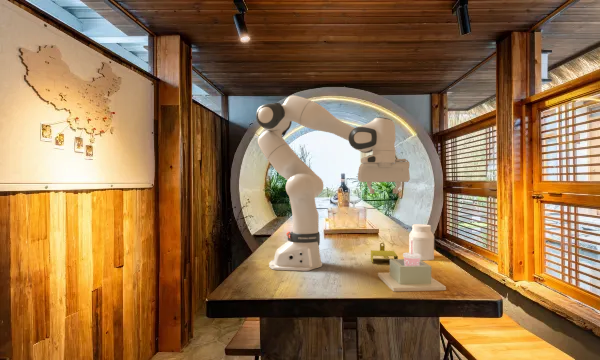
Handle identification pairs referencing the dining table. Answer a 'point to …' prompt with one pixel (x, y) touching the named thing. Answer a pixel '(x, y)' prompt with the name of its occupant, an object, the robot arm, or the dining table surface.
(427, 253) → the jar
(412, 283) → the cup well
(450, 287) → the dining table surface
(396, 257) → the bracket
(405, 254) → the beverage cup
